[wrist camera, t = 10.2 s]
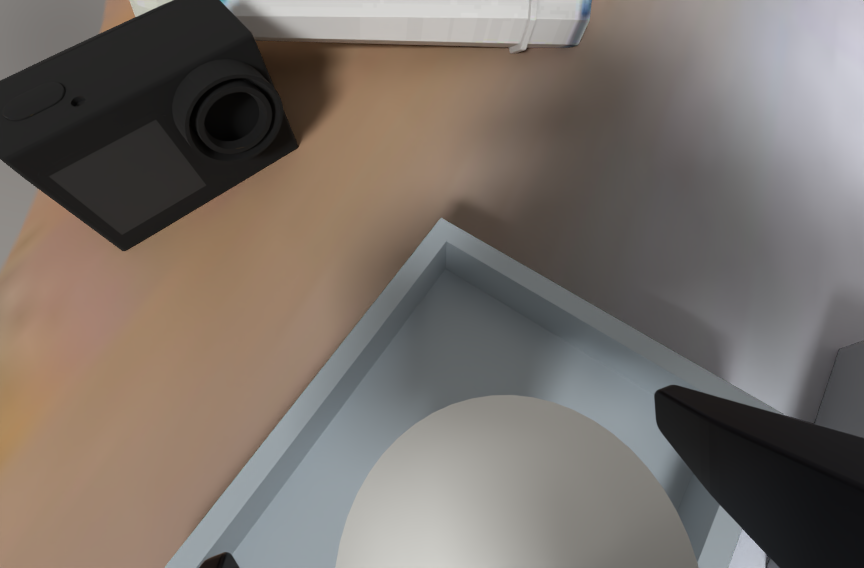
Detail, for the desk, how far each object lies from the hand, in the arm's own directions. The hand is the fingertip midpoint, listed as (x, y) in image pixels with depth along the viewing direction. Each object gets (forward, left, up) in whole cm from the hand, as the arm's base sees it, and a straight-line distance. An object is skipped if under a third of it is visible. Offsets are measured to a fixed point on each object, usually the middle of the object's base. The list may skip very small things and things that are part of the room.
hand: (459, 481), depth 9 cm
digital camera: (+5, +19, -10) cm, 22 cm away
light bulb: (-1, -1, -8) cm, 9 cm away
